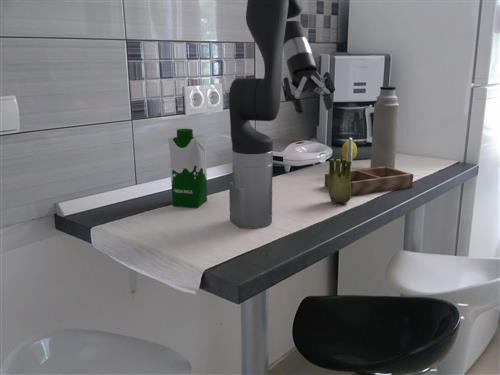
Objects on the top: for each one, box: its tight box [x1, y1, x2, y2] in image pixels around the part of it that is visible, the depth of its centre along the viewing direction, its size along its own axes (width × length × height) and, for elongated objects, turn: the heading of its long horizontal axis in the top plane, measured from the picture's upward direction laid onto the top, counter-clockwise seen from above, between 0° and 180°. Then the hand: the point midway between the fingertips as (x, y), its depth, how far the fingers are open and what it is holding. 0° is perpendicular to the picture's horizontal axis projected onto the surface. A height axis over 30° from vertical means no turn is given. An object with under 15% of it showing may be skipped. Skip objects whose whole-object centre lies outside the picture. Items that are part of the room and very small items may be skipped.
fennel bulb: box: [327, 158, 352, 205], centre depth 131 cm, size 6×5×12 cm
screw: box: [346, 137, 354, 171], centre depth 158 cm, size 13×5×5 cm
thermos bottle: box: [369, 85, 400, 169], centre depth 166 cm, size 8×8×28 cm
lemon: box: [341, 140, 358, 161], centre depth 182 cm, size 6×6×8 cm
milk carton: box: [168, 128, 208, 209], centre depth 130 cm, size 9×9×20 cm
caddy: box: [324, 166, 414, 198], centre depth 147 cm, size 23×12×4 cm, turn 116°
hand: (315, 110), depth 135 cm, fingers open, 8 cm apart
